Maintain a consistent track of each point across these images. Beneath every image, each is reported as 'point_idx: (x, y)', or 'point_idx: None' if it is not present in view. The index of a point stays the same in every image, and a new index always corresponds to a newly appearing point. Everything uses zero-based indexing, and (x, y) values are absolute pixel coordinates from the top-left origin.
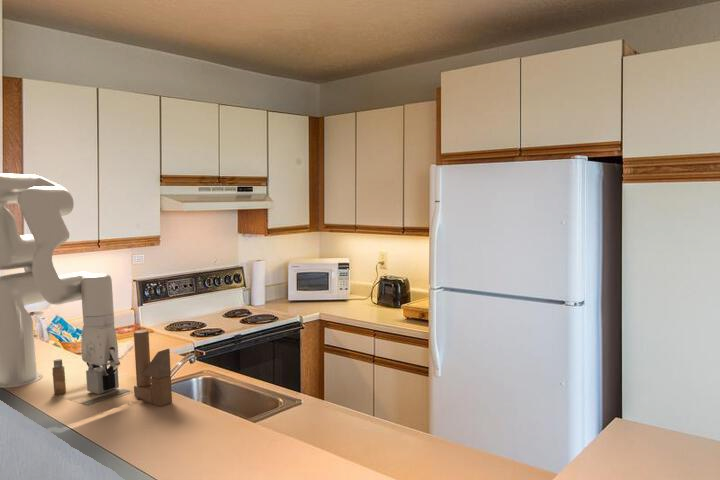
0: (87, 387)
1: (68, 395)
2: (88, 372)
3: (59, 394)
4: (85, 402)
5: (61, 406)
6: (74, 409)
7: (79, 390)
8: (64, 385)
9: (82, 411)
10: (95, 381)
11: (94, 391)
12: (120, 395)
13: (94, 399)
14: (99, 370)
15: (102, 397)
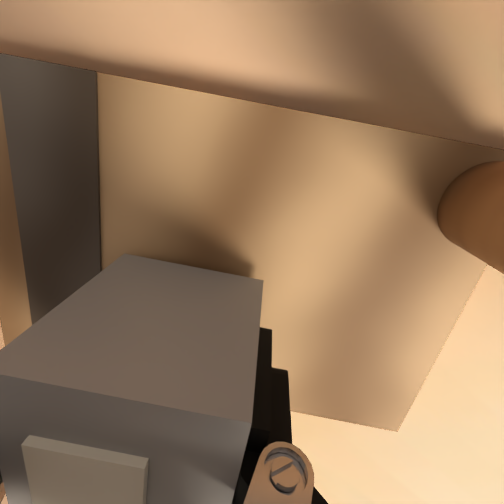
0: (255, 292)
1: (365, 185)
2: (195, 398)
3: (462, 174)
4: (74, 94)
5: (287, 29)
6: (124, 16)
7: (361, 292)
8: (479, 239)
9: (26, 6)
10: (101, 309)
11: (168, 267)
12: (12, 293)
13: (76, 174)
14: (51, 452)
15: (67, 227)
